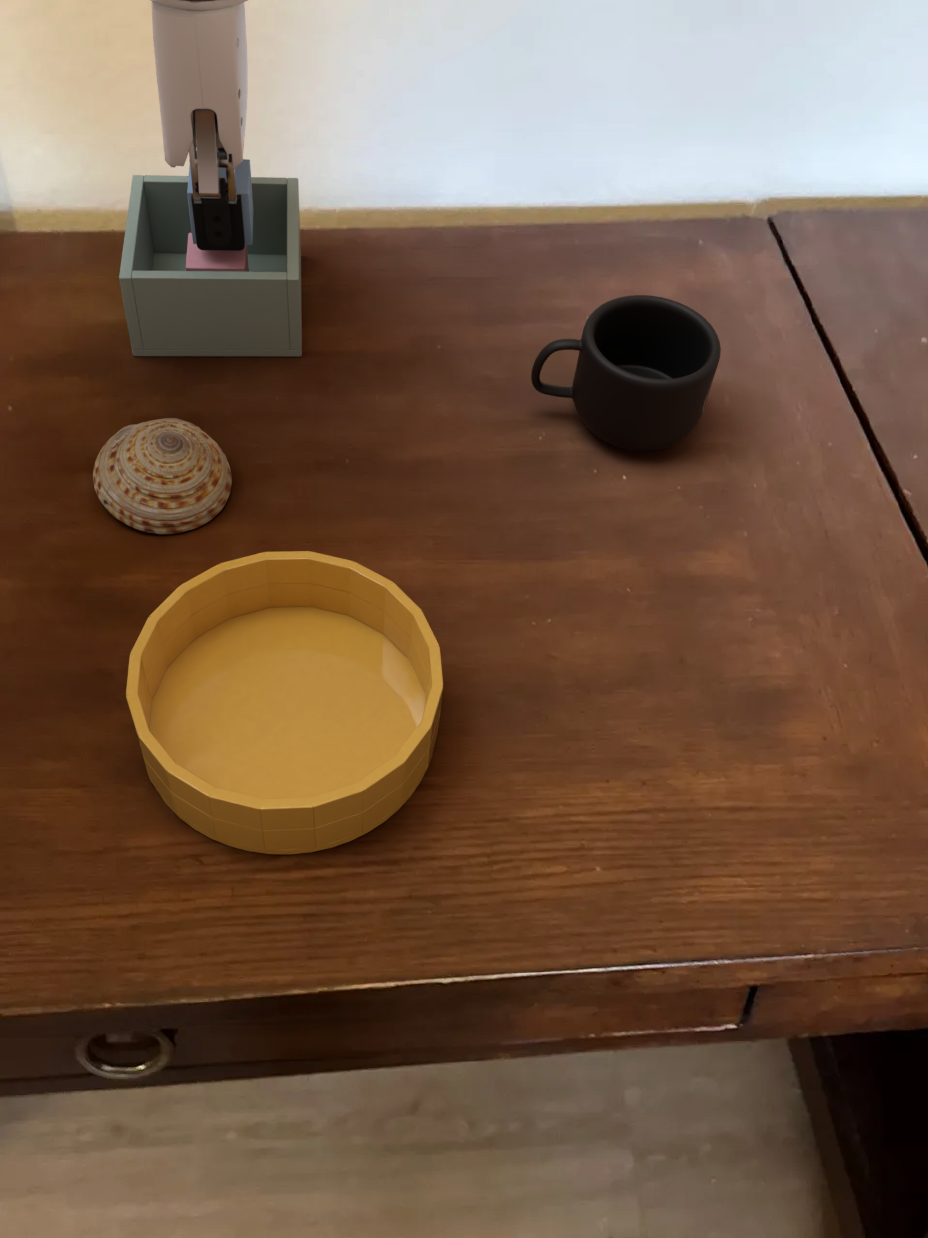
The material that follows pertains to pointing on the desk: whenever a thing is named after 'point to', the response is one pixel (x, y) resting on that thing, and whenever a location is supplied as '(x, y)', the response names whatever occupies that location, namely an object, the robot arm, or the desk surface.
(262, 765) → the bowl
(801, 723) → the desk surface
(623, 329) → the mug
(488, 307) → the desk surface
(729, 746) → the desk surface
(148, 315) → the bin
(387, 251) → the desk surface
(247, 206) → the toy blue
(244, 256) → the toy pink
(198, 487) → the seashell
